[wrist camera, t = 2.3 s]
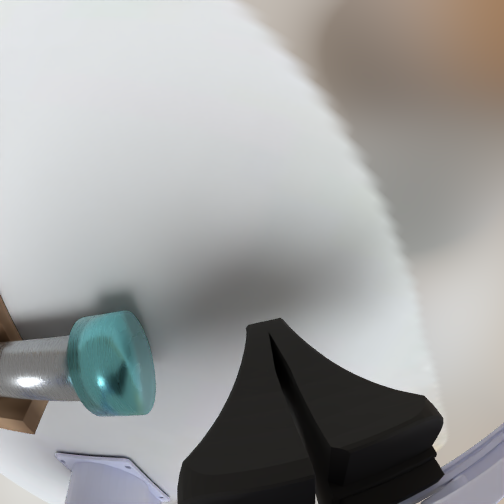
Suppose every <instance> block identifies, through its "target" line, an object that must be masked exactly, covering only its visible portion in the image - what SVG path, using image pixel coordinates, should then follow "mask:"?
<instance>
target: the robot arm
mask: <svg viewBox="0 0 504 504" xmlns="http://www.w3.org/2000/svg"><path fill="white" fill-rule="evenodd" d="M246 332H247V333H246V344H245V349H244V354H243V358H242V362H241V366H240V369H239V372H238V375H237V378H236V381H235V383H234V386H233V388H232V391H231V393H230V395H229V397H228V399H227V401H226V403H225V405H224V407H223V409H222V411H221V413H220V414H219V416H218V418H217V419H216V421H215V422H214V424H213V425H212V427H211V428H210V430H209V431H208V432H207V434H206V435H205V437H204V438H203V439H202V441H201V442H200V443H199V444H198V446H197V447H196V448H195V449H194V450H193V451H192V452H191V454H190V455H189V456H188V457H187V458H186V459H185V460H184V461H183V464H182V467H181V471H180V475H179V481H178V488H177V496H178V504H315V493H316V497H317V501H318V504H416V503H418V502H420V501H422V500H423V499H425V498H427V497H428V498H427V499H425V500H424V501H422V502H421V504H497V503H498V502H499V501H500V500H501V499H502V498H504V423H503V424H501V425H500V426H499V427H498V428H497V429H495V430H494V431H493V432H492V433H490V434H489V435H488V436H487V437H485V438H484V439H483V440H481V441H480V442H479V443H477V444H476V445H474V446H473V447H472V448H470V449H469V450H467V451H466V452H464V453H463V454H461V455H460V456H458V457H457V458H455V459H454V460H452V461H451V462H449V463H447V464H446V465H444V466H443V467H441V468H440V466H439V464H438V463H437V461H436V460H435V457H436V455H437V453H436V451H435V450H434V448H433V446H432V445H433V443H434V442H435V440H436V438H437V436H438V435H439V433H440V431H441V428H442V426H443V417H442V416H441V414H440V413H439V412H438V410H437V409H436V408H435V407H434V405H433V404H432V403H431V402H430V401H429V400H428V399H427V398H426V397H425V396H423V395H418V394H413V393H408V392H403V391H399V390H395V389H392V388H388V387H385V386H382V385H379V384H376V383H374V382H371V381H369V380H366V379H364V378H362V377H359V376H357V375H355V374H353V373H351V372H349V371H347V370H345V369H344V368H342V367H340V366H338V365H337V364H335V363H333V362H332V361H330V360H329V359H327V358H326V357H325V356H323V355H322V354H320V353H319V352H318V351H316V350H315V349H314V348H312V347H311V346H310V345H309V344H308V343H306V342H305V341H304V340H303V339H302V338H301V337H300V336H298V335H297V334H296V333H295V332H294V331H293V330H292V329H291V328H290V327H289V326H288V325H287V324H286V322H285V321H284V320H283V319H281V318H278V319H273V320H269V321H264V322H260V323H255V324H251V325H248V326H247V328H246ZM55 457H56V458H57V459H58V460H59V461H60V462H61V463H62V464H63V465H65V466H66V467H67V468H68V469H69V470H70V471H71V472H72V473H71V478H70V482H69V486H68V491H67V496H66V500H65V504H161V502H169V501H170V498H169V497H168V496H167V495H166V494H165V493H163V492H162V491H161V490H160V489H159V488H158V487H157V486H156V485H155V484H154V483H153V482H151V481H150V480H149V479H148V478H147V477H146V476H145V475H144V474H143V473H142V472H141V471H140V470H139V469H138V468H137V467H136V466H135V465H134V464H133V463H132V462H131V461H130V460H129V459H126V458H109V457H93V456H82V455H73V454H65V453H56V454H55ZM429 496H430V497H429Z"/></svg>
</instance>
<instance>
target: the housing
mask: <svg viewBox="0 0 504 504" xmlns="http://www.w3.org/2000/svg"><path fill="white" fill-rule="evenodd" d="M21 340H22V338H21V336H20V335H19V333H18V331H17V329H16V327H15V325H14V323H13V321H12V319H11V317H10V315H9V313H8V311H7V309H6V307H5V305H4V302H3V300H2V298H1V296H0V342H9V341H21ZM48 401H49V400H30V399H17V398H7V397H0V428H3V429H8V430H13V431H18V432H23V433H29V434H35V431H36V429H37V427H38V424H39V422H40V419H41V417H42V415H43V412H44V410H45V408H46V405H47V403H48Z"/></svg>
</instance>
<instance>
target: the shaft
mask: <svg viewBox="0 0 504 504" xmlns="http://www.w3.org/2000/svg"><path fill="white" fill-rule="evenodd" d="M155 392H156V382H155V371H154V364H153V359H152V354H151V350H150V347H149V343H148V340H147V337H146V335H145V332H144V330H143V328H142V326H141V324H140V322H139V321H138V319H137V318H136V317H135V315H134V314H133V313H131V312H130V311H127V310H124V311H118V312H112V313H106V314H100V315H94V316H87V317H82V318H80V319H79V320H78V321H76V323H75V324H74V326H73V328H72V330H71V332H70V335H68V336H59V337H50V338H41V339H31V340H21V341H9V342H0V397H7V398H17V399H30V400H50V401H81V402H82V403H83V405H84V406H85V407H86V408H87V409H88V410H89V411H90V412H92V413H93V414H95V415H97V416H132V415H146V414H148V413H149V412H150V411H151V409H152V407H153V404H154V400H155Z"/></svg>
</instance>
